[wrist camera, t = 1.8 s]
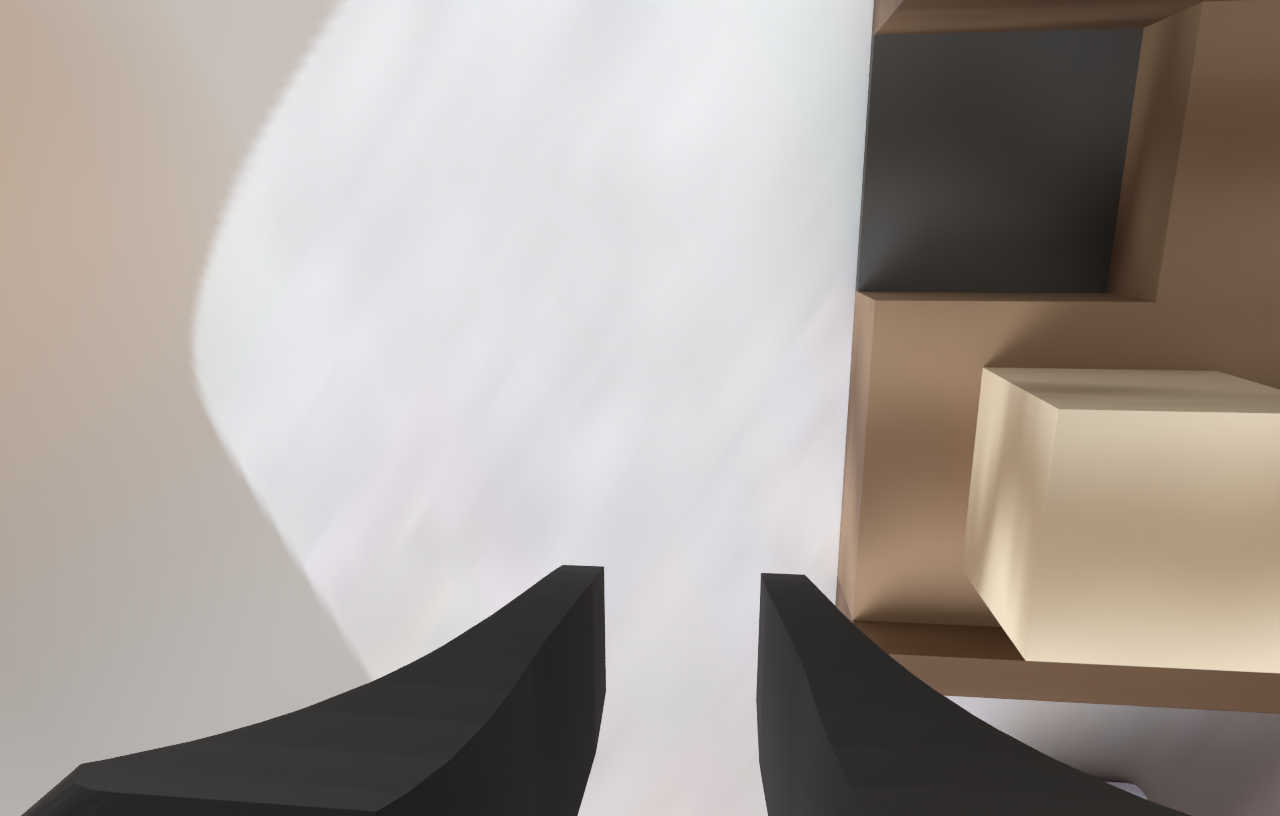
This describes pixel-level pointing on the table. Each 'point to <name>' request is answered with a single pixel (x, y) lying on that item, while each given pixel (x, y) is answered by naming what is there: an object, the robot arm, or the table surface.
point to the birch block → (1128, 516)
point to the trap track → (1044, 281)
